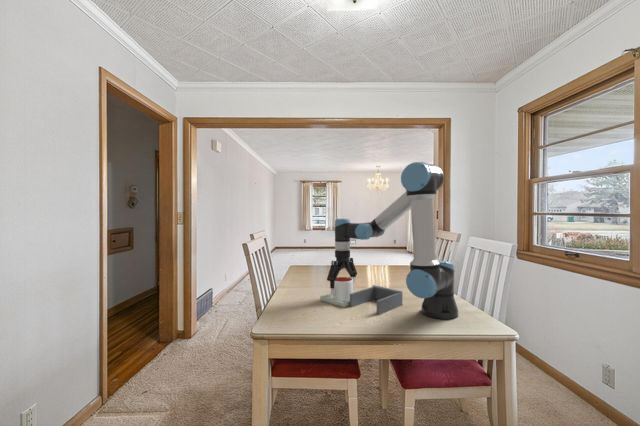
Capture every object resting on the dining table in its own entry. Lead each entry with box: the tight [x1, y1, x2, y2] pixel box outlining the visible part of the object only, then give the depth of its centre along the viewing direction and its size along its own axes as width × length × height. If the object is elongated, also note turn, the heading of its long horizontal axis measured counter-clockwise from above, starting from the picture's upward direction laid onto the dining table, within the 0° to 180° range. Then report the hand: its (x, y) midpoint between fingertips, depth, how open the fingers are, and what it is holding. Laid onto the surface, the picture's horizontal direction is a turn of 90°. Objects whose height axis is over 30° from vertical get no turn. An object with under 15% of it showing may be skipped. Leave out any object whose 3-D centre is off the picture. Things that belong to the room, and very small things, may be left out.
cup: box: [333, 276, 354, 301], centre depth 160 cm, size 10×10×10 cm
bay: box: [349, 284, 403, 316], centre depth 151 cm, size 16×19×7 cm
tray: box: [319, 292, 350, 309], centre depth 160 cm, size 16×16×2 cm
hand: (342, 292), depth 160 cm, fingers open, 13 cm apart
